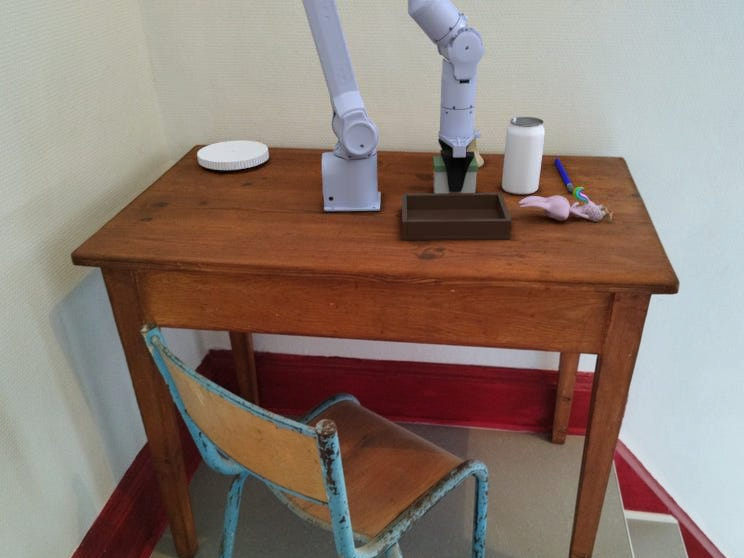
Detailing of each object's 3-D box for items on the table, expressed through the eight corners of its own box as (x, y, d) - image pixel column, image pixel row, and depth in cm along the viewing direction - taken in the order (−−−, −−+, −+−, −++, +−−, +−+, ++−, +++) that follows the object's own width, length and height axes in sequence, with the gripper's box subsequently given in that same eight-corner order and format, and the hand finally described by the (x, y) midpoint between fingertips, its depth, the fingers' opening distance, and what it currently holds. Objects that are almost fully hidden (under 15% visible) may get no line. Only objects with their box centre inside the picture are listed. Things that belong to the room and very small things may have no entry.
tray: (402, 240, 102) (402, 221, 100) (401, 211, 111) (401, 193, 110) (509, 239, 101) (511, 220, 100) (500, 210, 111) (501, 192, 109)
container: (433, 199, 115) (434, 166, 112) (432, 188, 120) (433, 155, 116) (476, 199, 115) (478, 165, 112) (473, 188, 120) (475, 155, 116)
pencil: (573, 193, 116) (574, 187, 116) (568, 193, 117) (569, 187, 116) (558, 161, 130) (558, 156, 130) (553, 161, 130) (554, 156, 130)
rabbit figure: (599, 219, 111) (512, 207, 109) (611, 184, 107) (522, 172, 106) (610, 234, 106) (520, 222, 104) (623, 199, 102) (530, 186, 101)
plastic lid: (245, 148, 141) (243, 136, 140) (283, 163, 133) (281, 150, 131) (186, 163, 134) (184, 151, 132) (222, 180, 125) (220, 167, 124)
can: (537, 196, 116) (546, 127, 109) (500, 194, 117) (506, 125, 110) (538, 184, 121) (546, 116, 114) (502, 182, 122) (508, 115, 115)
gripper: (487, 116, 103) (481, 200, 111) (477, 94, 115) (473, 171, 122) (441, 117, 103) (438, 200, 111) (437, 94, 115) (435, 171, 123)
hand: (454, 185), depth 117 cm, fingers closed on container, 5 cm apart
